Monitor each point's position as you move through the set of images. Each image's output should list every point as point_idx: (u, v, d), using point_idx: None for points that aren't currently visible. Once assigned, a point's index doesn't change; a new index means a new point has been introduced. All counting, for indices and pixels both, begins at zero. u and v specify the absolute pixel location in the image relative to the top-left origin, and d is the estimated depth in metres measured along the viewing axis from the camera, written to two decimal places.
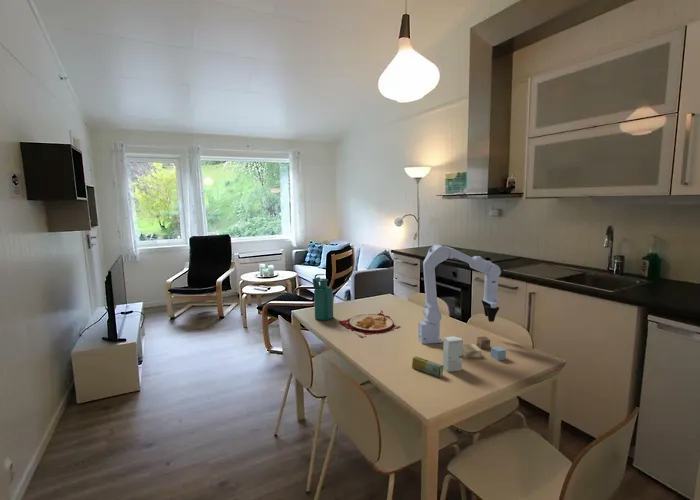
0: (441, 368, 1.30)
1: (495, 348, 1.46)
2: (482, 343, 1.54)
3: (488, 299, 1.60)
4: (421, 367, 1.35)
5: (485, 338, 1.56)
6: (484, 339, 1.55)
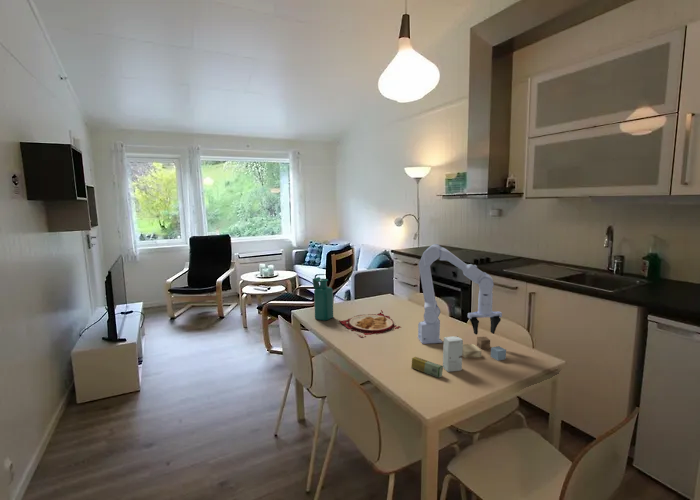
0: (440, 368, 1.30)
1: (495, 348, 1.46)
2: (482, 343, 1.54)
3: (477, 311, 1.56)
4: (421, 367, 1.35)
5: (485, 338, 1.56)
6: (484, 339, 1.55)
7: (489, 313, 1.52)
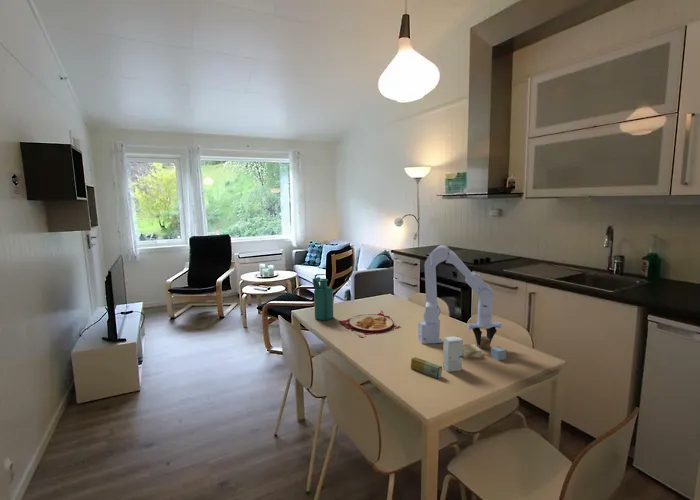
0: (440, 369, 1.30)
1: (495, 348, 1.46)
2: (482, 342, 1.54)
3: (477, 321, 1.56)
4: (420, 368, 1.34)
5: (485, 338, 1.56)
6: (484, 339, 1.55)
7: (488, 324, 1.53)
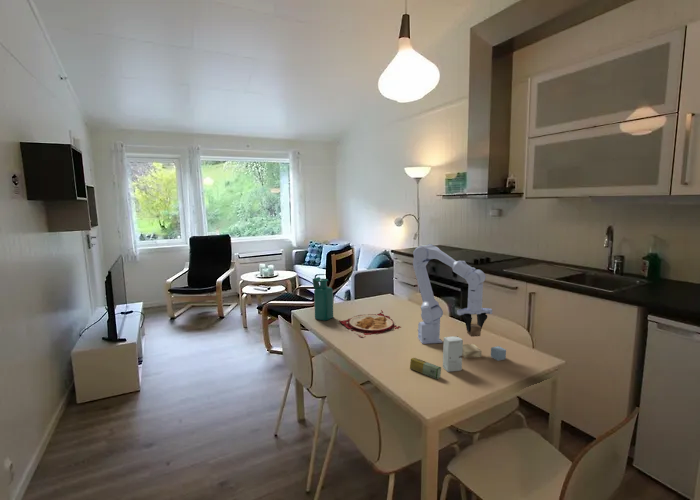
0: (439, 370, 1.29)
1: (495, 348, 1.46)
2: (472, 330, 1.48)
3: None
4: (419, 368, 1.34)
5: (475, 325, 1.50)
6: (474, 326, 1.49)
7: (479, 310, 1.47)
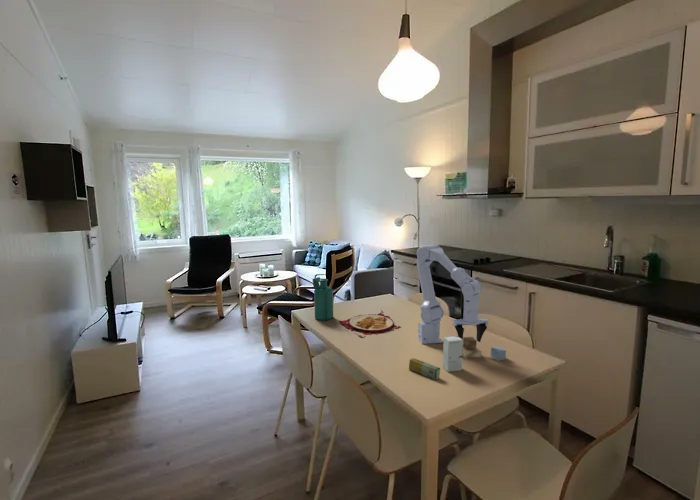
0: (437, 370, 1.29)
1: (495, 348, 1.46)
2: (467, 343, 1.47)
3: (463, 318, 1.49)
4: (418, 369, 1.33)
5: (471, 338, 1.49)
6: (470, 339, 1.48)
7: (475, 320, 1.45)
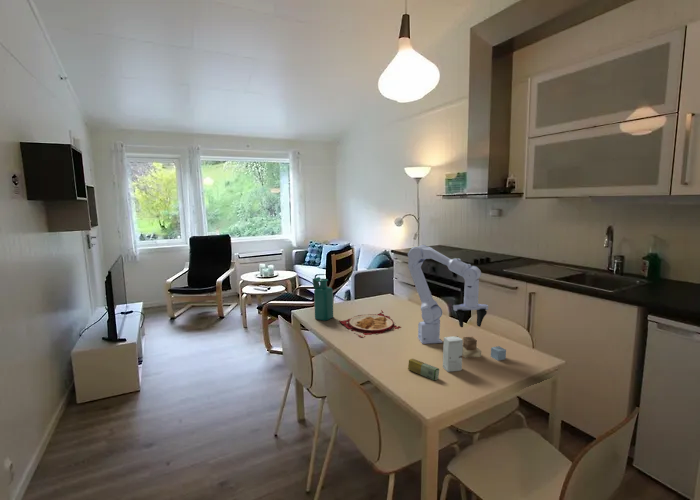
0: (437, 371, 1.28)
1: (495, 348, 1.46)
2: (468, 343, 1.47)
3: None
4: (417, 369, 1.33)
5: (471, 338, 1.49)
6: (470, 339, 1.48)
7: (475, 305, 1.49)
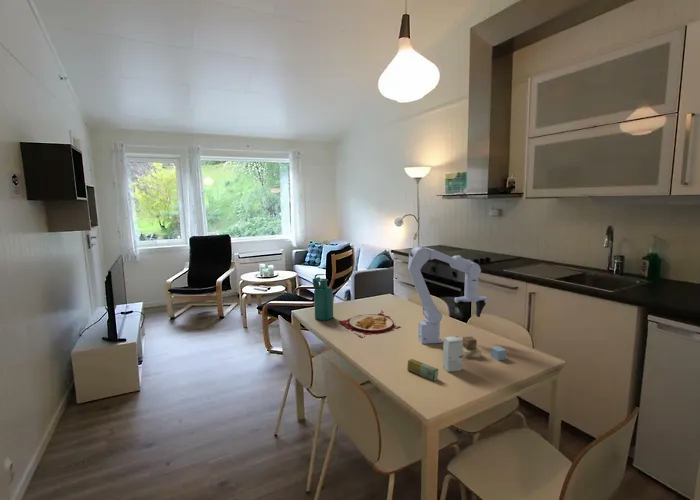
0: (436, 372, 1.28)
1: (495, 348, 1.46)
2: (468, 343, 1.47)
3: (464, 295, 1.65)
4: (416, 370, 1.33)
5: (471, 338, 1.49)
6: (470, 339, 1.48)
7: (474, 297, 1.61)
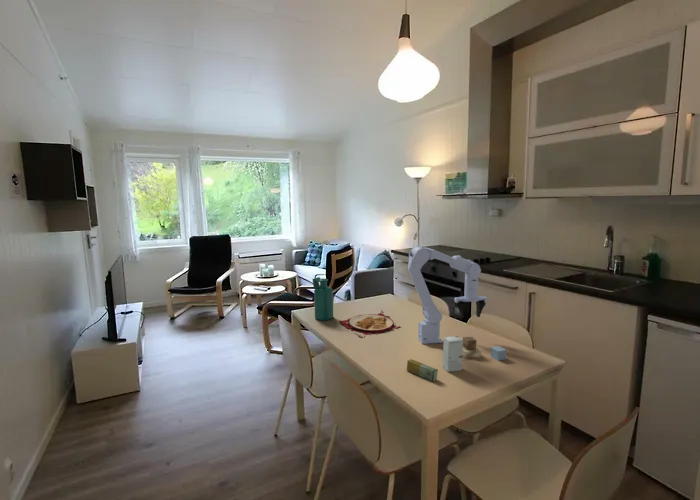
0: (435, 372, 1.28)
1: (495, 348, 1.46)
2: (467, 343, 1.47)
3: (464, 295, 1.65)
4: (416, 370, 1.32)
5: (471, 338, 1.49)
6: (470, 339, 1.48)
7: (474, 297, 1.61)
